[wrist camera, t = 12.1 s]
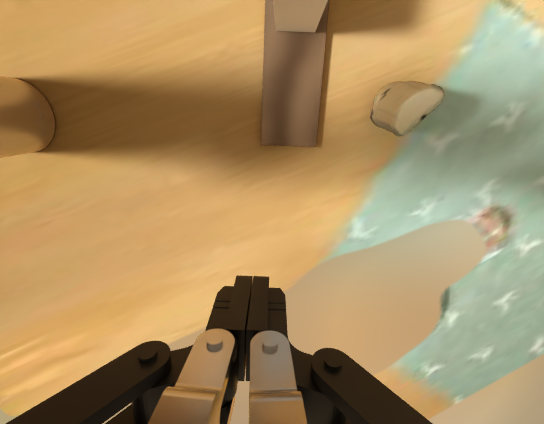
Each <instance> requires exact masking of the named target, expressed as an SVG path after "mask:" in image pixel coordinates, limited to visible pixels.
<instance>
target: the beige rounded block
mask: <svg viewBox="0 0 544 424" xmlns="http://www.w3.org/2000/svg"><path fill="white" fill-rule="evenodd" d="M443 99H444V91H443V89H442V88H441V87H440V86H437V85H434V84H431V85H428V84H425V83H422V82H415V81H407V82H393V83H390V84H388V85H386V86H385V87H383V88H382V89H380V90H379V91H378V92H377V94H376V96H375V98H374V103H373V110H372V112H371V116H370V118H371V120H372V121H373V123H374V124H375V125H376V126H378V127H381V128H383V129H386V130H388V131H390V132H393V133H394V134H395V135H396V136H404V135H405V134H407V133H408V132H409V131H410V130H411V129H412V128H414V127H415V126H416V125H417V124H418V123H419V122H420V121H422V120H423V119H424V118H425V117H426V116H427V115H428V114H430V113H431V112H432V111H433V110H434V109H435V108H436V107H438V106H439V105H440V104H441V102H442V101H443Z"/></svg>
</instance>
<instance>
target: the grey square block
mask: <svg viewBox="0 0 544 424" xmlns="http://www.w3.org/2000/svg"><path fill="white" fill-rule="evenodd" d="M327 1H328V0H273V6H274V17H275V27H276V31H292V32H315V31H316V29H317V26H318V24H319V21H320V19H321V16H322V14H323V11H324V9H325V6H326V4H327Z"/></svg>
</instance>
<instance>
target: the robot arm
mask: <svg viewBox="0 0 544 424" xmlns="http://www.w3.org/2000/svg"><path fill="white" fill-rule="evenodd" d="M54 132H55V119H54V115H53V112H52V109H51V107H50V105H49V103H48V101H47V100H46V99H45V97H44V96H43V95H42V94H41V93H40V92H39V91H38V90H37V89H36V88H35V87H33V86H32V85H31V84H29V83H27V82H25V81H23V80H19V79H15V78H9V77H1V76H0V158H1V157H7V156H13V155H19V154H25V153H31V152H37V151H40V150H42V149H44V148H45V147H46V146H47V145H49V143H50V142H51V140H52V138H53V136H54ZM252 283H253V284H252ZM245 368H246V381H250V391H249V424H432V423H431V422H430V421H429V420H427V419H426V418H425V417H424V416H422V415H421V414H420V413H419V412H417V411H416V410H415V409H414V408H412V407H411V406H410V405H409V404H407V403H406V402H405V401H404V400H402V399H401V398H400V397H399V396H397V395H396V394H395V393H394V392H392V391H391V390H390V389H389V388H387V387H386V386H385V385H384V384H382V383H381V382H380V381H379V380H377V379H376V378H375V377H374V376H372V375H371V374H370V373H369V372H367V371H366V370H365V369H364V368H362V367H361V366H360V365H359V364H357V363H356V362H355V361H354V360H353V359H351V358H350V357H349V356H348V355H346V354H345V353H343V352H342V351H339V350H337V349H333V348H323V349H320V350H318V351H316V352H315V354H314V355H310V354H306V353H303V352H301V351H299V350H297V349H296V348H294V346H292V345H291V343H290V342H289V340H288V336H287V318H286V301H285V294H284V293H283V291H282V290H281V289H280V288H269V277H263V276H254V277H252V276H236V280H235V284H234V286H224V287H223V288H222V289H221V290H220V291H219V292H218V293H217V296H216V299H215V302H214V305H213V309H212V312H211V315H210V318H209V321H208V324H207V327H206V331H205V332H203V333H202V334H200V335H199V336H198V338H197V339H196V341H195V343H194V345H192V346H189V347H187V348H183V349H179V350H174V351H170V348H169V346H168V345H167V344H166V343H164V342H161V341H149V342H145V343H142V344H140V345H138V346H136V347H135V348H133V349H131V350H130V351H128V352H126V353H125V354H123V355H121V356H119V357H118V358H116V359H114V360H113V361H111V362H109V363H108V364H106V365H104V366H103V367H101V368H99V369H97V370H96V371H94V372H92V373H91V374H89V375H87V376H86V377H84V378H82V379H81V380H79V381H77V382H75V383H74V384H72V385H70V386H69V387H67V388H65V389H64V390H62V391H60V392H59V393H57V394H55V395H53V396H52V397H50V398H48V399H47V400H45V401H43V402H42V403H40V404H38V405H37V406H35V407H33V408H31V409H30V410H28V411H26V412H25V413H23V414H21V415H20V416H18V417H16V418H15V419H13V420H11V421H9V422H8V423H6V424H102V423H104V422H105V421H106V420H108V419H109V418H110V417H112V416H113V415H115V414H116V413H117V412H119V411H120V410H121V409H123V408H124V407H125V406H127V405H128V404H130V403H132V404H131V405H130V406H128V407H127V408H126V409H124V410H123V411H122V412H120V413H119V414H118V415H116V416H115V417H114V418H112V419H111V420H110V421H108V422H107V423H106V424H230V421H231V415H232V411H233V407H234V402H235V393H236V390H237V383H238V381H244V377H245Z"/></svg>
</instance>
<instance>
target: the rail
mask: <svg viewBox="0 0 544 424" xmlns="http://www.w3.org/2000/svg"><path fill="white" fill-rule="evenodd" d="M328 9H329V0H328V1H327V4H326V6H325V9H324V11H323V14H322V16H321V19H320V21H319V24H318V26H317V29H316V31H315V32H292V31H276V27H275V17H274V6H273V0H265V29H264V63H263V96H262V129H261V145H280V146H301V147H316V140H317V129H318V119H319V108H320V97H321V86H322V75H323V64H324V53H325V42H326V31H327V20H328Z"/></svg>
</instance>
